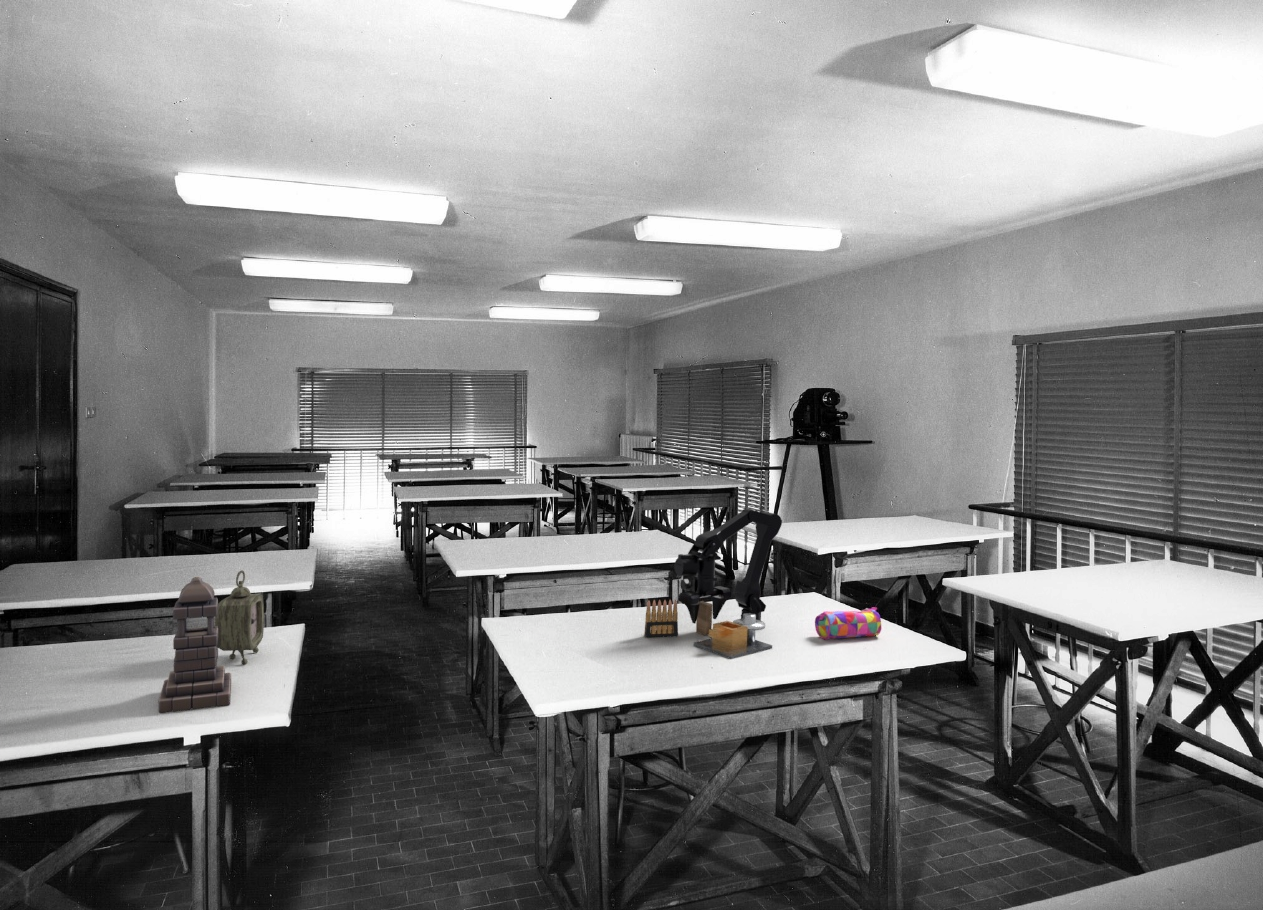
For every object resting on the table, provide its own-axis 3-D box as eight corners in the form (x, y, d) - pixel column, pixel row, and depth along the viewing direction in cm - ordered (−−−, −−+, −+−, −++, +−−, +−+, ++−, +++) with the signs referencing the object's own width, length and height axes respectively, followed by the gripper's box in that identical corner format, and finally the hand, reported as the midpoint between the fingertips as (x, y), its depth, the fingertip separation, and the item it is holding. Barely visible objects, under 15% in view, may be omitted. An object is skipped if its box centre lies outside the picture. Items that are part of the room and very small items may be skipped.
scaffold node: (740, 634, 267) (741, 607, 267) (778, 646, 255) (779, 618, 254) (693, 645, 254) (694, 616, 253) (731, 658, 242) (732, 628, 241)
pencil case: (865, 630, 277) (867, 603, 276) (884, 638, 268) (885, 610, 267) (811, 636, 268) (812, 608, 268) (829, 644, 259) (830, 616, 259)
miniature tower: (164, 691, 205) (163, 572, 203) (231, 684, 211) (230, 568, 209) (158, 714, 190) (156, 586, 188) (230, 705, 196) (229, 581, 194)
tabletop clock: (249, 666, 224) (248, 576, 223) (213, 667, 223) (212, 576, 221) (264, 650, 239) (263, 565, 237) (230, 651, 237) (230, 565, 235)
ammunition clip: (676, 635, 265) (677, 598, 264) (678, 636, 263) (679, 599, 262) (644, 636, 263) (645, 599, 262) (645, 638, 261) (646, 600, 260)
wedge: (701, 631, 270) (702, 601, 270) (711, 634, 267) (712, 603, 266) (696, 632, 269) (697, 602, 268) (705, 635, 265) (706, 604, 264)
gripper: (708, 566, 278) (707, 611, 280) (667, 572, 267) (666, 619, 268) (732, 572, 270) (731, 618, 271) (691, 578, 258) (689, 627, 259)
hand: (704, 621), depth 267 cm, fingers open, 9 cm apart
